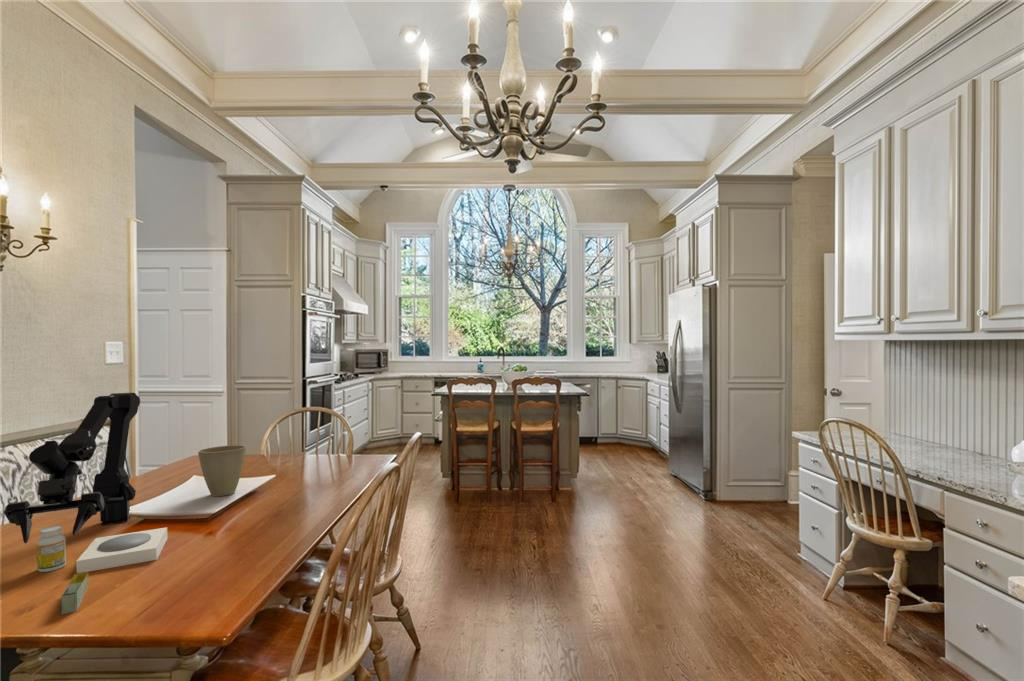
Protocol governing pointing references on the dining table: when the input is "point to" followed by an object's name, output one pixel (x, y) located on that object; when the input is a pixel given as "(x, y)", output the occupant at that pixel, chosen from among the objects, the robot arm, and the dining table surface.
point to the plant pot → (222, 468)
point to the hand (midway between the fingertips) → (49, 538)
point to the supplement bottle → (51, 549)
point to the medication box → (74, 593)
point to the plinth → (122, 550)
